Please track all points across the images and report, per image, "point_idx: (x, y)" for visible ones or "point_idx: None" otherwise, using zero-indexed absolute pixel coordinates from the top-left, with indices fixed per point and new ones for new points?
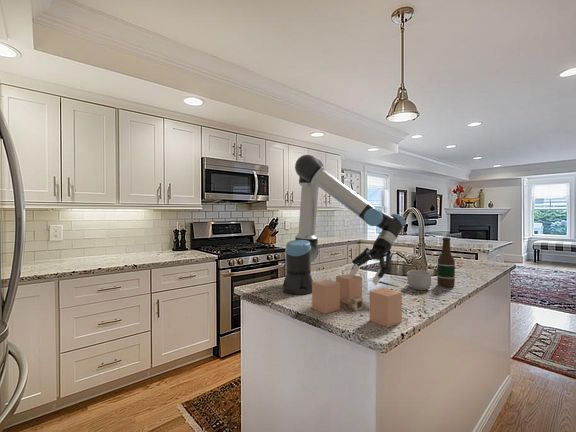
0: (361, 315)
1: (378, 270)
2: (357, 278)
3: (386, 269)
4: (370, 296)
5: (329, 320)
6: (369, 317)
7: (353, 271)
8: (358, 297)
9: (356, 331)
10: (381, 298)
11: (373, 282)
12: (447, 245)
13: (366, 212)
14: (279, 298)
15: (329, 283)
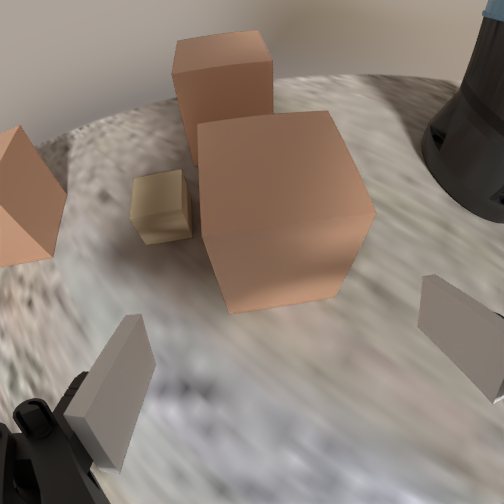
0: (104, 197)
1: (91, 396)
2: (199, 189)
3: (12, 433)
4: (25, 139)
5: (147, 114)
6: (62, 188)
7: (455, 317)
8: (154, 210)
9: (64, 139)
10: None
11: (142, 333)
12: None
13: None
14: (391, 94)
15: (197, 51)
